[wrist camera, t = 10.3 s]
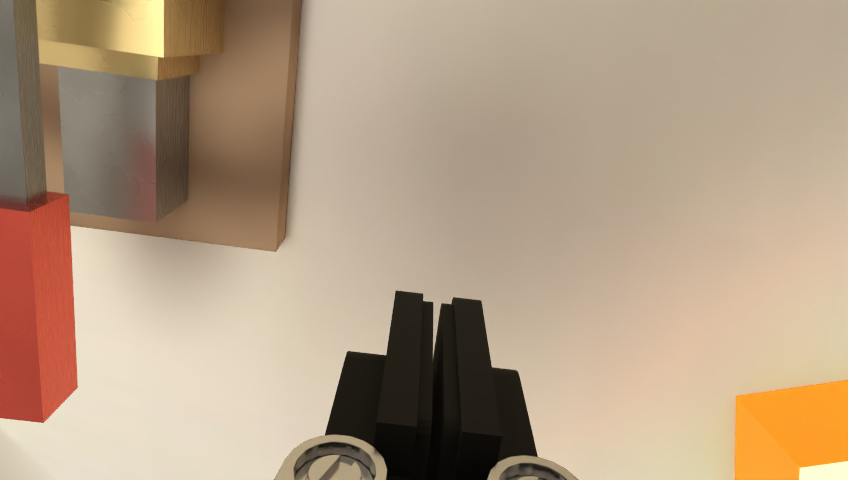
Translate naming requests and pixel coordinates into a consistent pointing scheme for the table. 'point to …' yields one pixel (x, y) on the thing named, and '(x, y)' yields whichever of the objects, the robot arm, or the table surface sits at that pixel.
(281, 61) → the board
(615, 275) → the table surface
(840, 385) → the orange juice
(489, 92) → the table surface
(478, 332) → the robot arm
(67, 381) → the lever
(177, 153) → the valve
